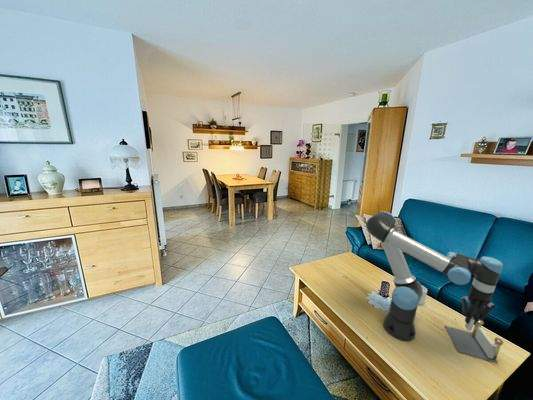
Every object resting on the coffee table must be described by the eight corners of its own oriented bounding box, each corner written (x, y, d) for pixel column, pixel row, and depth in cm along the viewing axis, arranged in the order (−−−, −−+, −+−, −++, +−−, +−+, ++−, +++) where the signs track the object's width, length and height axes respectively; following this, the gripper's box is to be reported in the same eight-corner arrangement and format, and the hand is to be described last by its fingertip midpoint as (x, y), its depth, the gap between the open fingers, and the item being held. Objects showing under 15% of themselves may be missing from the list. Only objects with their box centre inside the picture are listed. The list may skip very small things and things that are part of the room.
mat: (458, 352, 108) (458, 351, 107) (444, 326, 123) (445, 325, 123) (497, 363, 102) (497, 362, 102) (478, 335, 118) (478, 334, 118)
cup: (427, 305, 139) (430, 291, 137) (409, 305, 139) (412, 292, 136) (417, 296, 147) (420, 283, 145) (400, 297, 147) (403, 283, 144)
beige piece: (474, 337, 115) (478, 325, 113) (478, 338, 114) (482, 326, 112) (488, 357, 104) (492, 345, 102) (492, 358, 103) (497, 346, 101)
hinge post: (472, 339, 115) (477, 322, 113) (469, 334, 118) (474, 317, 116) (479, 341, 114) (485, 323, 112) (476, 336, 117) (481, 319, 114)
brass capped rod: (490, 360, 104) (497, 341, 101) (487, 355, 106) (493, 337, 104) (498, 362, 103) (504, 343, 100) (494, 357, 105) (501, 338, 103)
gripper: (495, 287, 105) (480, 327, 112) (461, 280, 110) (449, 319, 116) (504, 297, 98) (488, 338, 105) (469, 289, 103) (455, 329, 109)
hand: (467, 328), depth 110 cm, fingers closed
